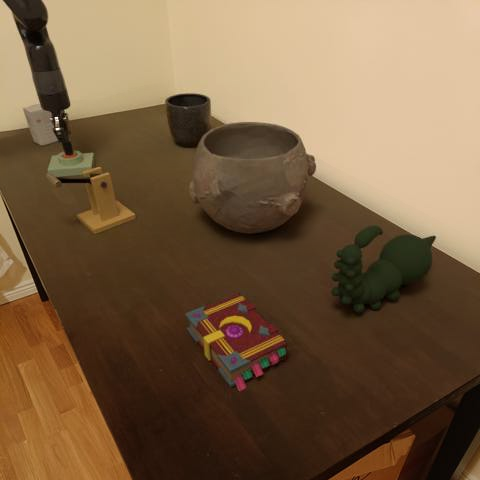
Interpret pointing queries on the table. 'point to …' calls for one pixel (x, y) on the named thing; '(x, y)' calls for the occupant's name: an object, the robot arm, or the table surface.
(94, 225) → the wooden lever stand
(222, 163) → the bowl
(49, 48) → the robot arm
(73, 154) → the button
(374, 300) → the toy figurine
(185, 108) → the planter
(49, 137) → the small box
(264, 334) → the decorative book
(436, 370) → the table surface
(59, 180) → the switch lever
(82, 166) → the switch block
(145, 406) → the table surface
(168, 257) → the table surface
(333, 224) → the table surface
